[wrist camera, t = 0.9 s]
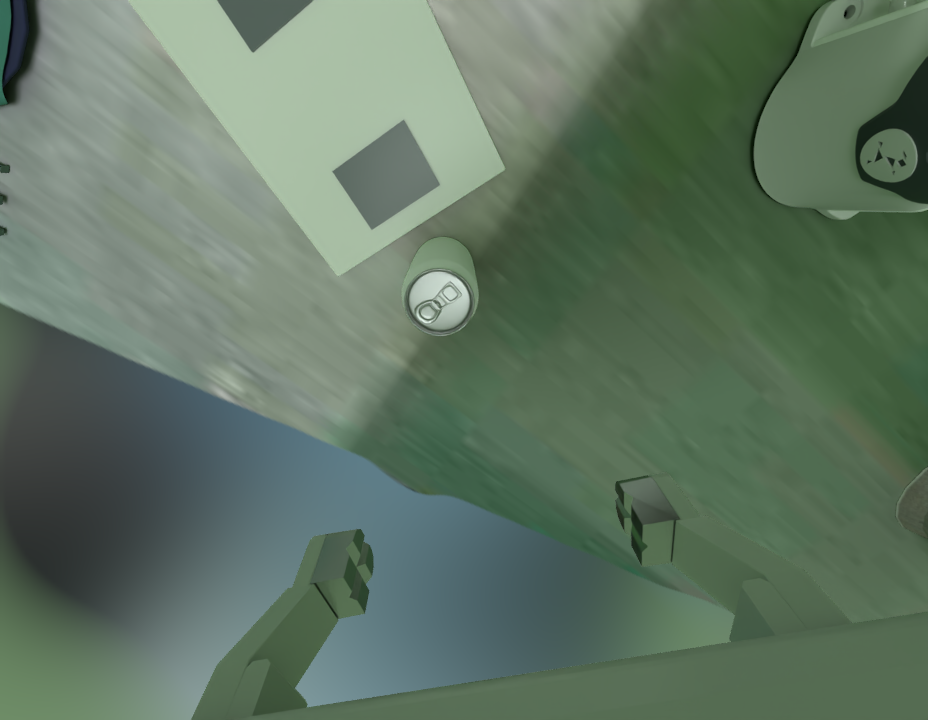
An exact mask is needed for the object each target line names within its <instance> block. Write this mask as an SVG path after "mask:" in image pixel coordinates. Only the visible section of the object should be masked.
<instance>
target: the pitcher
mask: <svg viewBox="0 0 928 720" xmlns="http://www.w3.org/2000/svg"><path fill="white" fill-rule="evenodd" d="M895 517H896V518H897V520H898V521H899V523H900V524H901V526H902V527H903V528H905V529H907V530H909V531H912V532H914V533H916V534H918V535H921V536H923V537H925V538H927V539H928V467H926V468H925V469H924V470H922V471H921V472H920V473H919V474H918V475H917V476H916V477H915V478H914V479H913V480H912V481H911V482H910V483H909V484H908V485H907V486H906V488H905V489H904V491H903V493H902V495H901V496H900V498H899V500H898V502H897V505H896V516H895Z"/></svg>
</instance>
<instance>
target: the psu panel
mask: <svg viewBox="0 0 928 720" xmlns="http://www.w3.org/2000/svg"><path fill="white" fill-rule="evenodd" d="M128 2H129V3H130V4H131V5H132V7H133V8H134V9H135V11H136V12H137V13H138V15H139V16H140V17H141V19H142V20H143V21H144V23H145V24H146V25H147V26H148V28H149V29H150V30H151V32H152V33H153V34H154V36H155V37H156V38H157V40H158V41H159V42H160V44H161V45H162V46H163V48H164V49H165V50H166V51H167V53H168V54H169V55H170V57H171V58H172V59H173V61H174V62H175V63H176V65H177V66H178V67H179V69H180V70H181V71H182V72H183V74H184V75H185V76H186V78H187V79H188V80H189V82H190V83H191V84H192V86H193V87H194V88H195V90H196V91H197V92H198V94H199V95H200V96H201V97H202V99H203V100H204V101H205V103H206V104H207V105H208V107H209V108H210V109H211V111H212V112H213V113H214V115H215V116H216V117H217V118H218V120H219V121H220V122H221V124H222V125H223V126H224V128H225V129H226V130H227V132H228V133H229V134H230V136H231V137H232V138H233V140H234V141H235V142H236V143H237V145H238V146H239V147H240V149H241V150H242V151H243V153H244V154H245V155H246V157H247V158H248V159H249V161H250V162H251V163H252V164H253V166H254V167H255V168H256V170H257V171H258V172H259V174H260V175H261V176H262V178H263V179H264V180H265V182H266V183H267V184H268V186H269V187H270V188H271V189H272V191H273V192H274V193H275V195H276V196H277V197H278V199H279V200H280V201H281V203H282V204H283V205H284V207H285V208H286V209H287V210H288V212H289V213H290V214H291V216H292V217H293V218H294V220H295V221H296V222H297V224H298V225H299V226H300V228H301V229H302V230H303V232H304V233H305V234H306V235H307V237H308V238H309V239H310V241H311V242H312V243H313V245H314V246H315V247H316V249H317V250H318V251H319V253H320V254H321V255H322V256H323V258H324V259H325V260H326V262H327V263H328V264H329V266H330V267H331V268H332V270H333V271H334V272H335V274H336V275H337V276H338V277H339V276H340V275H342V274H343V273H345V272H346V271H348V270H350V269H351V268H353V267H354V266H356V265H357V264H359V263H360V262H362V261H364V260H365V259H367V258H368V257H370V256H371V255H373V254H374V253H376V252H378V251H379V250H381V249H382V248H384V247H385V246H387V245H389V244H390V243H392V242H393V241H395V240H396V239H398V238H399V237H401V236H403V235H404V234H406V233H407V232H409V231H410V230H412V229H413V228H415V227H417V226H418V225H420V224H421V223H423V222H424V221H426V220H428V219H429V218H431V217H432V216H434V215H435V214H437V213H438V212H440V211H442V210H443V209H445V208H446V207H448V206H449V205H451V204H452V203H454V202H456V201H457V200H459V199H460V198H462V197H463V196H465V195H467V194H468V193H470V192H471V191H473V190H474V189H476V188H477V187H479V186H481V185H482V184H484V183H485V182H487V181H488V180H490V179H491V178H493V177H495V176H496V175H498V174H499V173H501V172H502V171H504V170H506V169H505V167H504V165H503V163H502V161H501V158H500V156H499V154H498V152H497V150H496V148H495V146H494V144H493V141H492V139H491V137H490V135H489V133H488V131H487V129H486V127H485V124H484V122H483V120H482V118H481V116H480V114H479V112H478V109H477V107H476V105H475V103H474V101H473V99H472V97H471V95H470V92H469V90H468V88H467V86H466V84H465V82H464V80H463V78H462V75H461V73H460V71H459V69H458V67H457V65H456V63H455V60H454V58H453V56H452V54H451V52H450V50H449V48H448V46H447V43H446V41H445V39H444V37H443V35H442V33H441V31H440V29H439V26H438V24H437V22H436V20H435V18H434V16H433V14H432V11H431V9H430V7H429V5H428V3H427V1H426V0H128Z"/></svg>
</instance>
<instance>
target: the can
mask: <svg viewBox="0 0 928 720" xmlns="http://www.w3.org/2000/svg"><path fill="white" fill-rule="evenodd" d="M478 298H479V293H478V285H477V280H476V274H475V269H474V265H473V261H472V257H471V255H470V253H469V251H468V250H467V248H466V247H465V246H464V245H463V244H461V243H460V242H459V241H457V240H455V239H452V238H449V237H437V238H433V239H431V240H429V241H427V242H425V243H424V244H423V245H422V246H421V247H420V248H419V250H418V251H417V253H416V255H415V257H414V259H413V261H412V263H411V266H410V268H409V270H408V272H407V275H406V277H405V280H404V283H403V286H402V303H403V307H404V309H405V311H406V314H407V316H408V318H409V320H410V321H411V322H412V324H413V325H414V326H415V327H416V328H418V329H419V330H421V331H422V332H424V333H427V334H430V335H434V336H446V335H451V334H454V333H456V332H458V331H459V330H461V329H462V328H463V327H465V326H466V325H467V323H468V322H469V321H470V319H471V318H472V316H473V315H474V313H475V311H476V308H477V305H478Z"/></svg>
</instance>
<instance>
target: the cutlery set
mask: <svg viewBox="0 0 928 720" xmlns="http://www.w3.org/2000/svg"><path fill="white" fill-rule="evenodd" d="M28 34H29V21H28V12H27V2H26V0H0V105H5V104H8V103H7V101H6V99H5V97H4V94H3V91H2V88H3V87H4V86H5V85H6V84H7V83H8V81H9V80H10V79H11V78H12V77H13V76H14V75H15V74H16V72H17V71H18V70H19V69H20V68H21V64H22V59H23V55H24V51H25V47H26V43H27V39H28ZM0 172H1V173H9V166H3V165H1V164H0ZM2 204H3V196H0V205H2ZM1 235H4V229H3V228H0V236H1Z"/></svg>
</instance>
